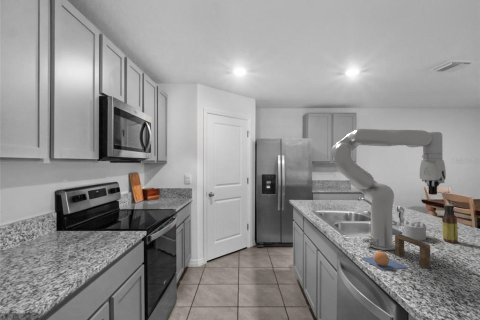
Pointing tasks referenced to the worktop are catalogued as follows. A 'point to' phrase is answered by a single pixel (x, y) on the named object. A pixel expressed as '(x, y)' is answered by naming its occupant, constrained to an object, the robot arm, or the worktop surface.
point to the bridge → (423, 246)
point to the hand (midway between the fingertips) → (432, 194)
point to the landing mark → (389, 266)
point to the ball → (381, 258)
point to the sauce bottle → (449, 225)
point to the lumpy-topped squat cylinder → (415, 230)
